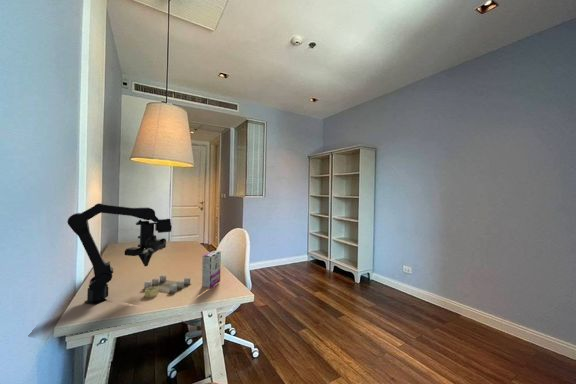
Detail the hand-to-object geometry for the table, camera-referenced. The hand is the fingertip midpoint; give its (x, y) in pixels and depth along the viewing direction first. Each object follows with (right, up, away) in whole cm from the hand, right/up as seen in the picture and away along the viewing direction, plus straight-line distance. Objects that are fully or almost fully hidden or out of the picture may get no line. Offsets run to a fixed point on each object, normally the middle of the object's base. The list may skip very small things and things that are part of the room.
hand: (146, 266), depth 113 cm
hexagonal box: (+6, -11, -6) cm, 14 cm away
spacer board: (+8, -12, +1) cm, 14 cm away
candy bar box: (+28, -13, +10) cm, 33 cm away
